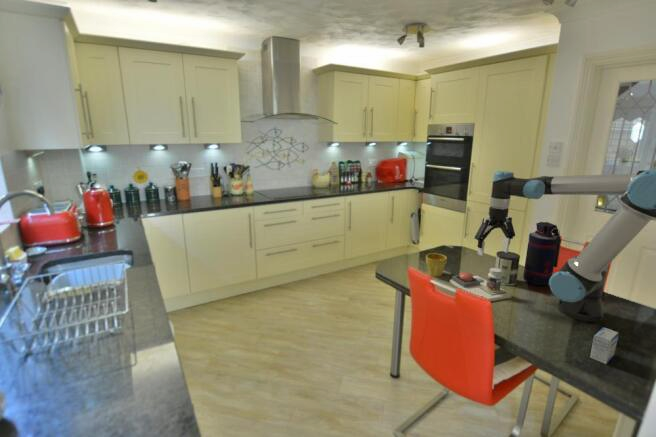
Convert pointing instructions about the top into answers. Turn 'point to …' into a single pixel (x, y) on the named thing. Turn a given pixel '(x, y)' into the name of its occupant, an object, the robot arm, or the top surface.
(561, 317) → the top surface
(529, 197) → the robot arm
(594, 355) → the medicine box
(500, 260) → the coffee can
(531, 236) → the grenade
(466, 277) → the button
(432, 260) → the plant pot
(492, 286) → the pill bottle
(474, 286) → the white control panel
